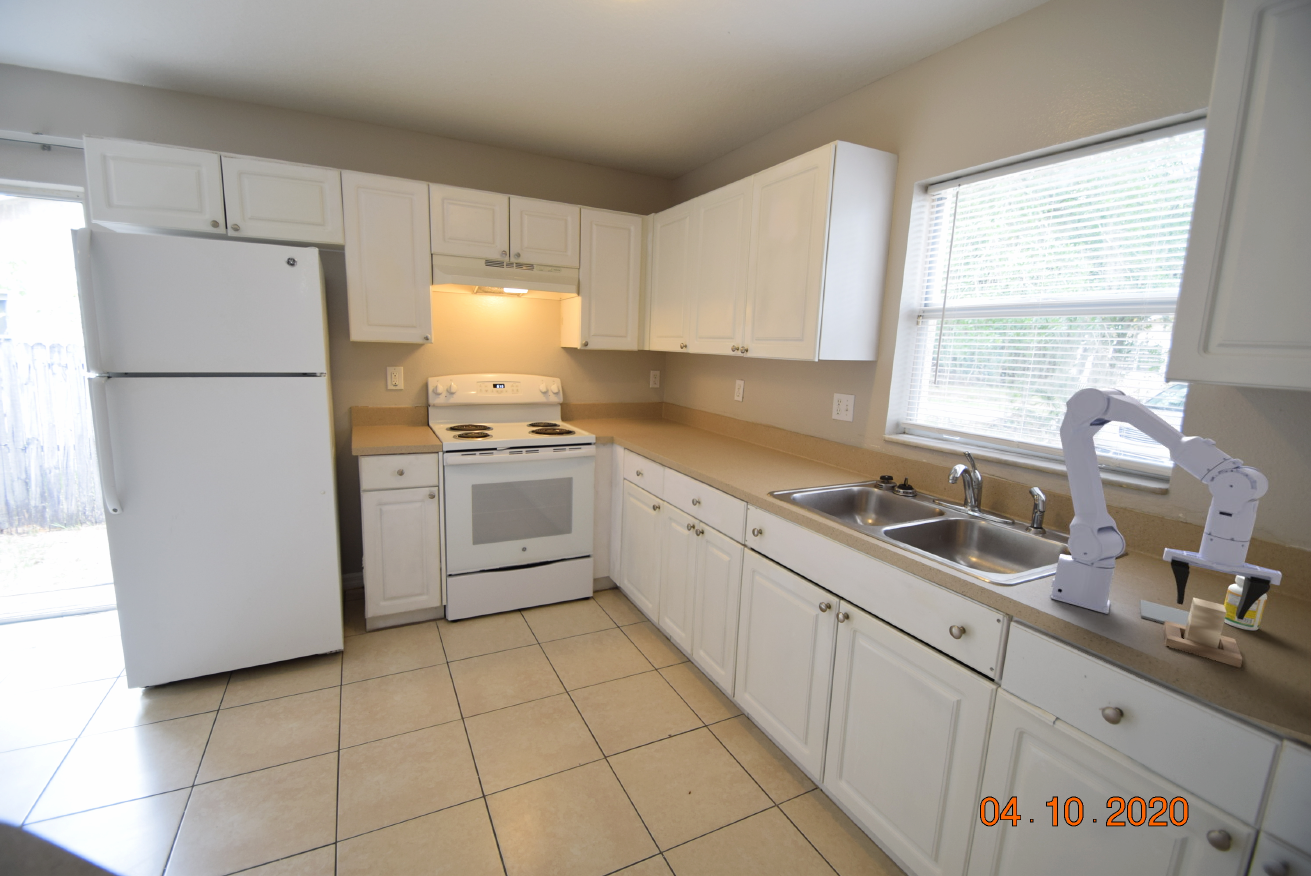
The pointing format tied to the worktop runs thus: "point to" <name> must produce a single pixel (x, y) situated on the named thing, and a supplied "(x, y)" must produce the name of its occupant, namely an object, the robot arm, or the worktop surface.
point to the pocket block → (1202, 645)
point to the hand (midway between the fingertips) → (1208, 609)
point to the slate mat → (1163, 613)
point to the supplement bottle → (1231, 604)
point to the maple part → (1205, 622)
